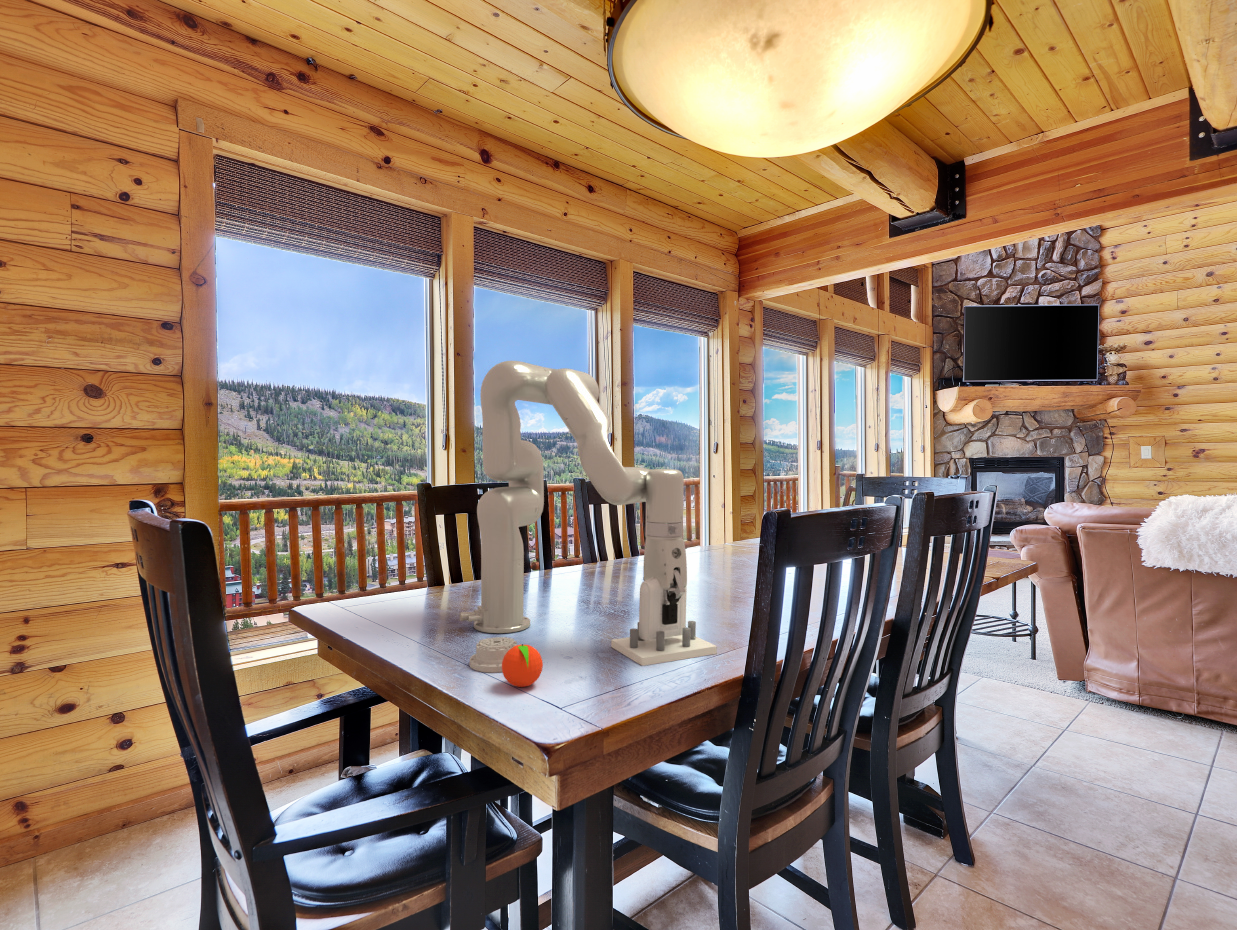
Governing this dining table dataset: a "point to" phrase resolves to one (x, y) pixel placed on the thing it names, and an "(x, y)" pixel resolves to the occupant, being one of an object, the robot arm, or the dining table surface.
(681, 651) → the pin tray
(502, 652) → the mechanical component
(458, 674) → the dining table surface
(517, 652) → the clementine
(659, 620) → the photo printer
